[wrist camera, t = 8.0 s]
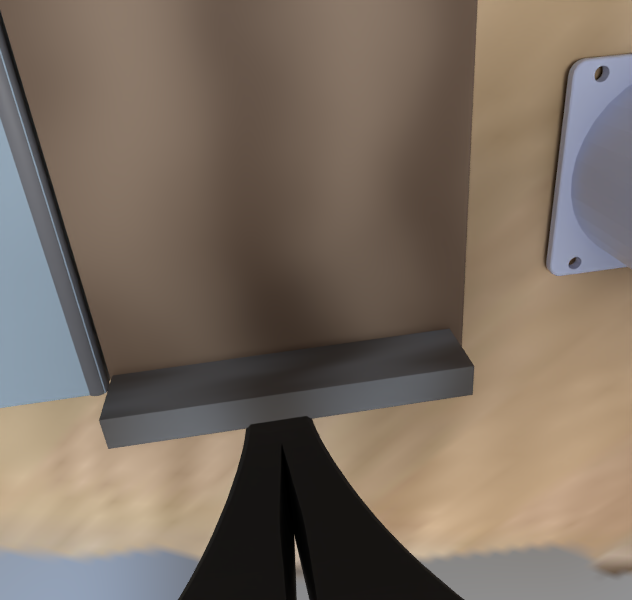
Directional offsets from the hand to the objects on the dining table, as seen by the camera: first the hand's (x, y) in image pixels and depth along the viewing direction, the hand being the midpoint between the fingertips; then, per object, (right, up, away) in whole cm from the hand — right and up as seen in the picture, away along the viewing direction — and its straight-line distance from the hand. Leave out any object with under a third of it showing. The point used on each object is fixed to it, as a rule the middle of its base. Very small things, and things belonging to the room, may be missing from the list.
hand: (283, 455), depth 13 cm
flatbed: (-1, +10, +6) cm, 12 cm away
